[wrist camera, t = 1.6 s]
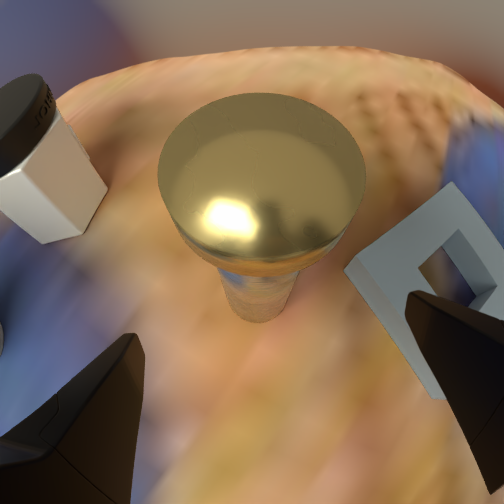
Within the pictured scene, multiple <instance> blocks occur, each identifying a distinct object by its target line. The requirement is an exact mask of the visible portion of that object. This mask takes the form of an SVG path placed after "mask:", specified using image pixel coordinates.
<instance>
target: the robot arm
mask: <svg viewBox="0 0 504 504" xmlns="http://www.w3.org/2000/svg"><path fill="white" fill-rule="evenodd" d="M405 319H406V321H407V323H408V325H409V327H410V330H411V332H412V334H413V336H414V338H415V341H416V343H417V345H418V347H419V349H420V351H421V353H422V355H423V357H424V359H425V361H426V362H427V364H428V366H429V368H430V369H431V371H432V373H433V375H434V377H435V378H436V380H437V382H438V384H439V386H440V388H441V390H442V391H443V393H444V395H445V397H446V399H447V401H448V403H449V405H450V407H451V409H452V411H453V413H454V415H455V417H456V419H457V421H458V423H459V425H460V427H461V429H462V431H463V433H464V435H465V437H466V440H467V442H468V444H469V446H470V449H471V451H472V453H473V455H474V458H475V460H476V462H477V465H478V467H479V469H480V472H481V474H482V477H483V479H484V481H485V484H486V486H487V489H488V491H489V493H490V495H491V494H493V493H494V492H496V491H497V490H498V489H500V488H501V487H502V486H504V320H499V319H498V318H495V317H493V316H490V315H487V314H485V313H482V312H479V311H477V310H474V309H471V308H469V307H466V306H463V305H460V304H458V303H455V302H452V301H449V300H447V299H444V298H441V297H438V296H436V295H433V294H430V293H427V292H424V291H422V290H415V291H411V292H409V293H408V296H407V301H406V307H405ZM144 370H145V354H144V351H143V348H142V345H141V343H140V340H139V338H138V336H137V334H136V333H125V334H123V335H122V336H121V337H119V338H118V339H117V340H116V341H115V342H114V343H112V344H111V345H110V346H109V347H108V348H107V349H106V350H104V351H103V352H102V353H101V354H100V355H99V356H97V357H96V358H95V359H94V360H93V361H92V362H91V363H89V364H88V365H87V366H86V367H85V368H84V369H83V370H81V371H80V372H79V373H78V374H77V375H76V376H75V377H73V378H72V379H71V380H70V381H69V382H68V383H67V384H66V385H64V386H63V387H62V388H61V389H60V390H59V391H58V392H57V394H54V395H53V396H52V397H51V398H50V399H49V400H48V401H46V402H45V403H44V404H43V405H42V406H41V407H39V408H38V409H37V410H36V411H34V412H33V413H32V414H31V415H29V416H28V417H27V418H25V419H24V420H23V421H21V422H20V423H19V424H17V425H16V426H15V427H13V428H12V429H11V430H9V431H8V432H7V433H5V434H4V435H3V436H1V437H0V504H130V500H131V489H132V479H133V469H134V460H135V452H136V444H137V436H138V429H139V422H140V416H141V409H142V402H143V391H144Z"/></svg>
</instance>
